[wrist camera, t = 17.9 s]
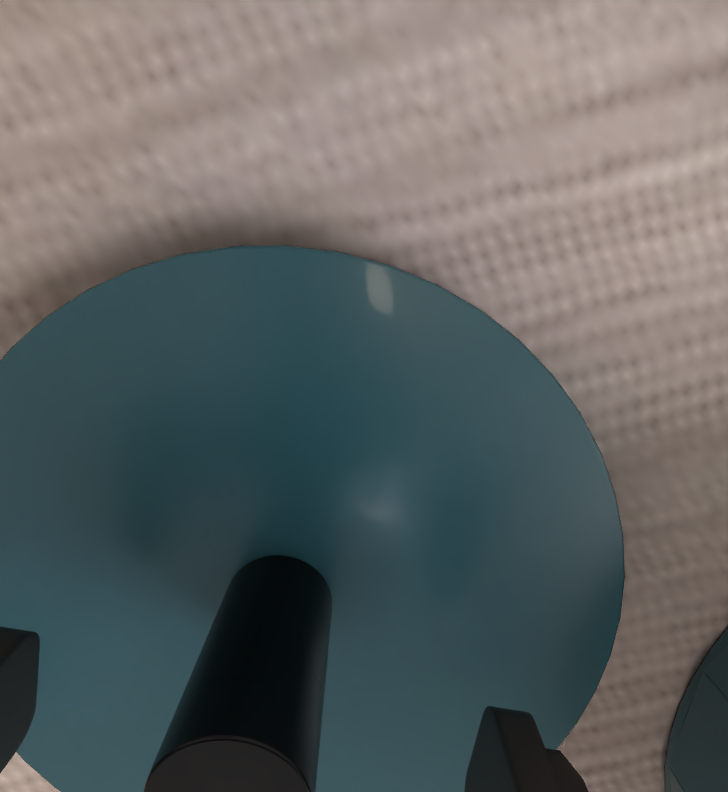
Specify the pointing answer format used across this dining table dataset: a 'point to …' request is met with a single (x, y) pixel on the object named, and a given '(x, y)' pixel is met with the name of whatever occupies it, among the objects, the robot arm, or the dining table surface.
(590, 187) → the dining table surface
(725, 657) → the pot
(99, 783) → the pot lid
